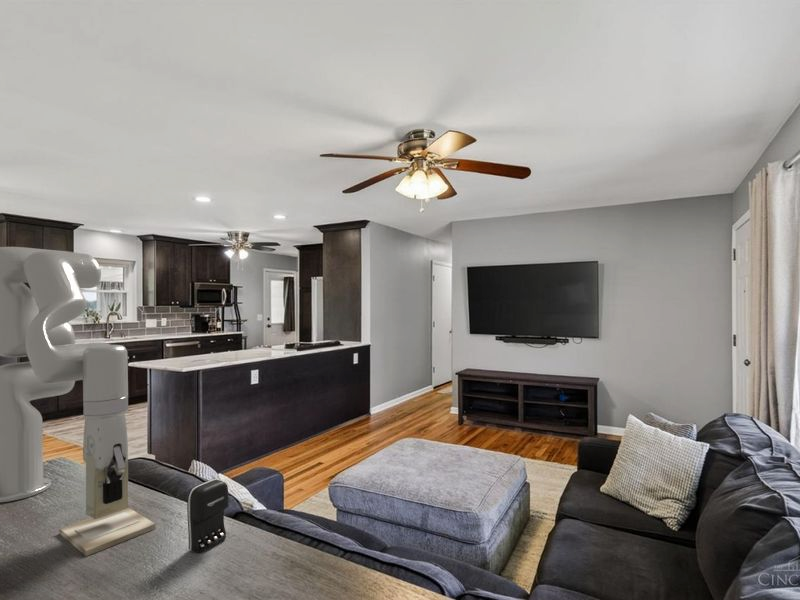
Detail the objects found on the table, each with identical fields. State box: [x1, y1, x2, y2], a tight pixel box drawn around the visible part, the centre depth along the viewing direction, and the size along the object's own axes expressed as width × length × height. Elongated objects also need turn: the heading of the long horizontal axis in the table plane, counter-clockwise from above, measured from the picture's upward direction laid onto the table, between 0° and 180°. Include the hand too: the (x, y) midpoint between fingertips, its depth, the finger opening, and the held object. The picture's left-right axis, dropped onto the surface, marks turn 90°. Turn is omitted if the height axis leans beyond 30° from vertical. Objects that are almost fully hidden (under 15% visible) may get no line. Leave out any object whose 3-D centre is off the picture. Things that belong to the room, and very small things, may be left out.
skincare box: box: [85, 453, 129, 519], centre depth 89 cm, size 6×4×12 cm
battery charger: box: [186, 478, 230, 553], centre depth 83 cm, size 7×4×11 cm, turn 150°
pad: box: [59, 507, 157, 557], centre depth 89 cm, size 14×12×1 cm
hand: (107, 497), depth 89 cm, fingers closed on skincare box, 4 cm apart
